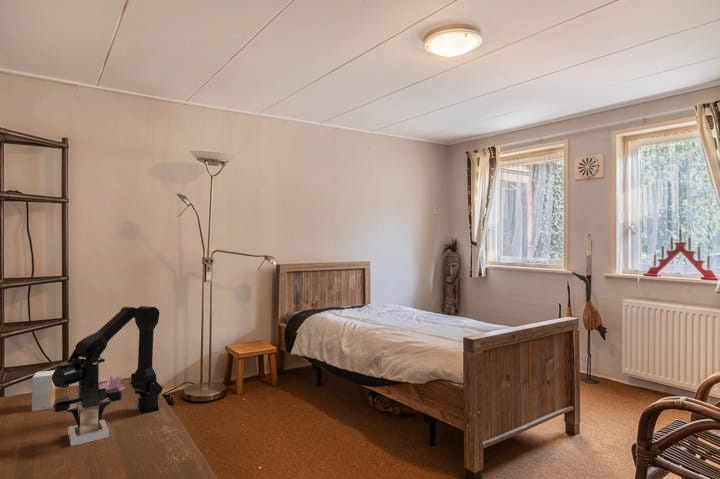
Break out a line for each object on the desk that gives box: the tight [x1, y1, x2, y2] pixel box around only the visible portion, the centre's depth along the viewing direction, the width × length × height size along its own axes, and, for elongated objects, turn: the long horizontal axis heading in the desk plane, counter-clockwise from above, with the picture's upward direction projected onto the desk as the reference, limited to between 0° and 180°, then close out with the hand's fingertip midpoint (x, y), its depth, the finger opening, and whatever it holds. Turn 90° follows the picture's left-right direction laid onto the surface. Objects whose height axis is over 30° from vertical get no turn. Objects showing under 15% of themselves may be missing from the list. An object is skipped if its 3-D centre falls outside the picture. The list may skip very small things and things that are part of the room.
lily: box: [99, 373, 126, 391], centre depth 183 cm, size 11×11×9 cm
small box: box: [31, 369, 56, 412], centre depth 172 cm, size 8×6×13 cm
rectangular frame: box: [67, 419, 110, 447], centre depth 146 cm, size 10×10×2 cm
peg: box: [78, 406, 98, 435], centre depth 146 cm, size 5×5×8 cm
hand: (88, 425), depth 146 cm, fingers closed on peg, 5 cm apart
